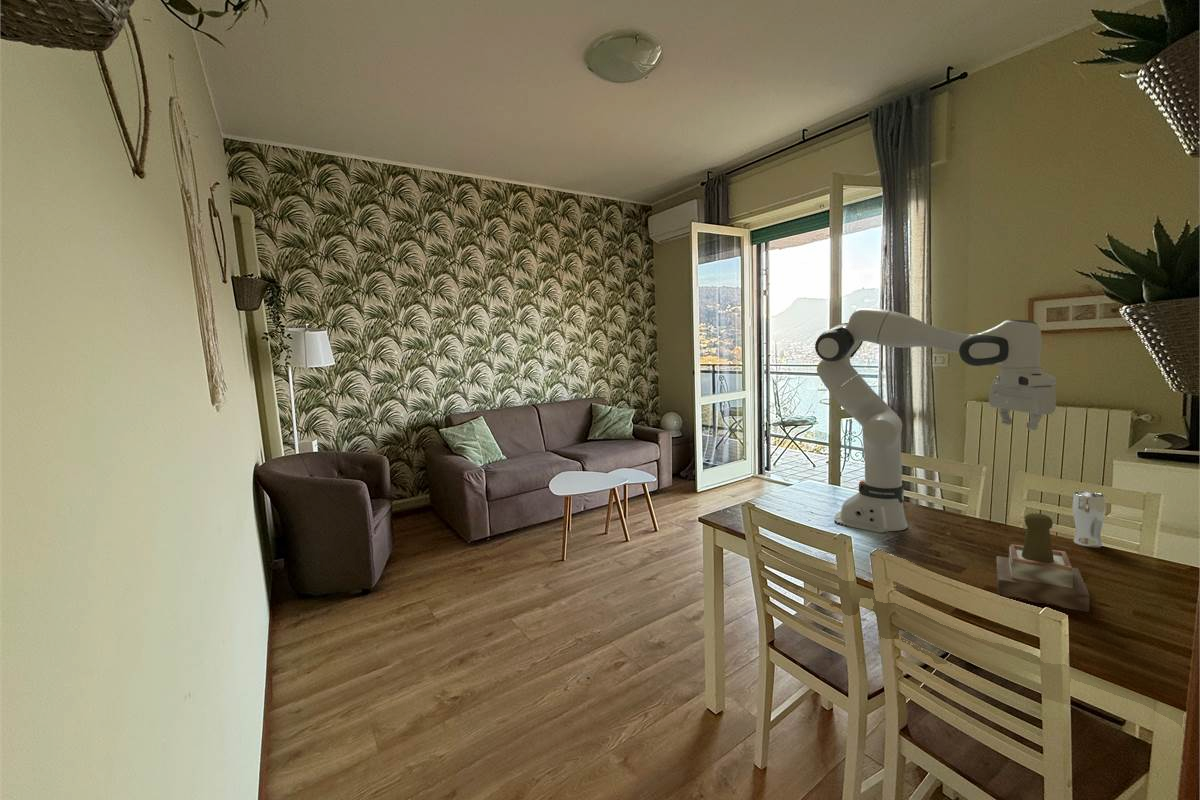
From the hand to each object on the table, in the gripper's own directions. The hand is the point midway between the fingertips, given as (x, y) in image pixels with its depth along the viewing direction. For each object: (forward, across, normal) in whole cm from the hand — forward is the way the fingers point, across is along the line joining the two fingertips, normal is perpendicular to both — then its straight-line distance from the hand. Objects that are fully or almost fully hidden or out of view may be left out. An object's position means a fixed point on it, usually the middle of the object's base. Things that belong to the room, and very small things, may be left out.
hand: (1019, 426), depth 141 cm
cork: (+29, +21, -10) cm, 37 cm away
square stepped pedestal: (+37, +21, -10) cm, 44 cm away
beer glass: (+37, -6, +24) cm, 45 cm away
